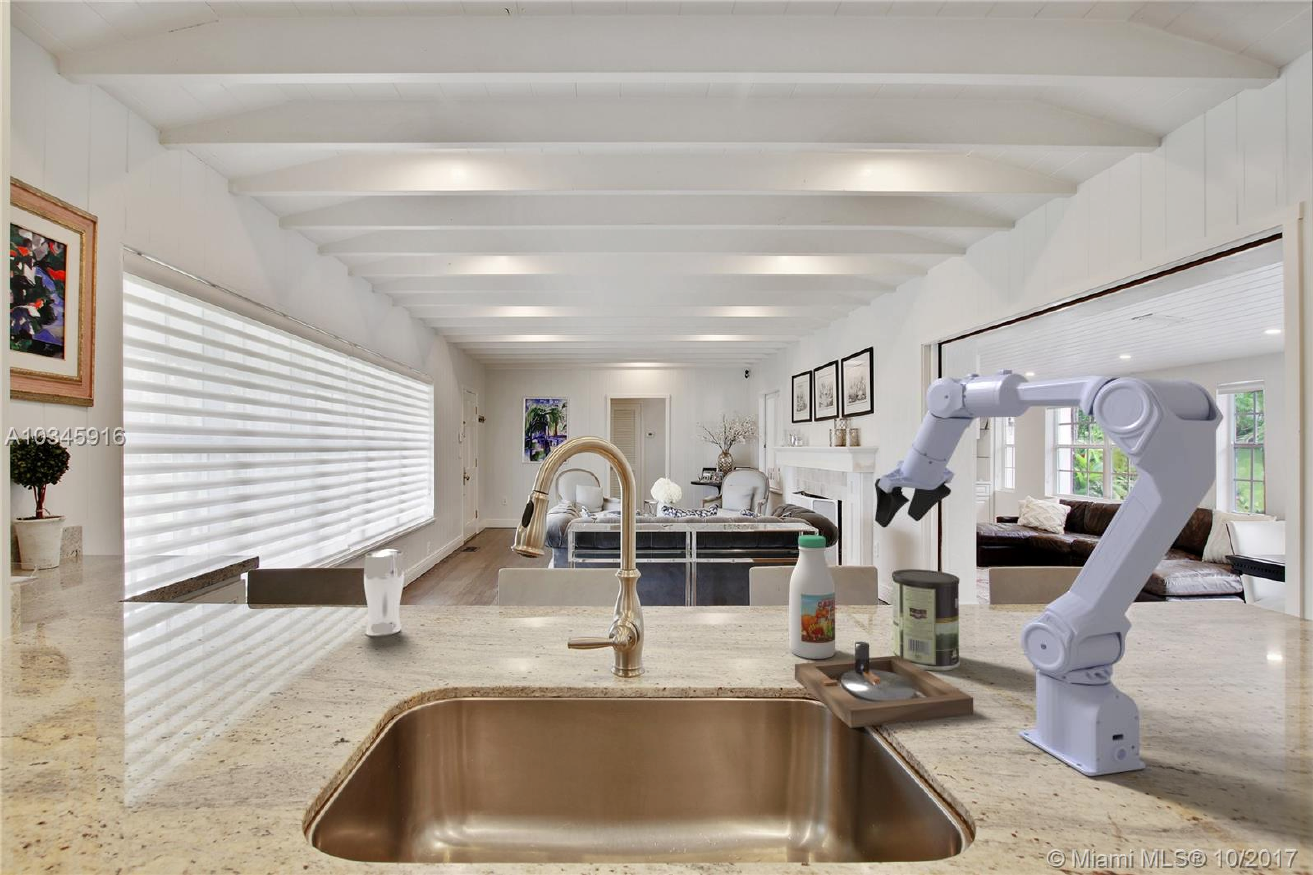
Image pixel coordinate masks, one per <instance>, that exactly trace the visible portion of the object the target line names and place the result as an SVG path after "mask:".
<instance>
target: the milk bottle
mask: <svg viewBox="0 0 1313 875" xmlns="http://www.w3.org/2000/svg"><path fill="white" fill-rule="evenodd" d="M797 539H798V540H797V543H798V549H799V555H798V558H797V563H796V564H795V567H794V569H793V571H792V573H791V577H790V581H789V592H788V593H789V596H788V598H789V599H788V601H789V602H788V606H789V607H788V645H789V646H788V648H789V651H790V652H791V653H792V654H794V655H795V656H798V657H801V658H804V659H811V660H812V659H813V660H825V659H829V658H832V657H833V656H834V655H835V653H836V591H835V590H836V588H835V582H834V578H833V575H832V572H831V570H830V568H829V566H828V563H827V561H826V560H827V559H826V556H825V551H826V544H827V541H826V540H827V539H826V538H825V537H824V536H823V535H816V534H815V535H812V534H804V535H799V536H798V538H797Z"/></svg>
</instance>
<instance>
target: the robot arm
mask: <svg viewBox="0 0 1313 875" xmlns="http://www.w3.org/2000/svg"><path fill="white" fill-rule="evenodd" d="M926 391H927V392H926V397H925V402H926V407H927V410H926V413H925V415H924V417H923V420H922V422H921V425H920V427H919V429H918V431H917V433H916V436H915V438H914V439H913V442H912V444H911V446H910V448H909V450H908V452H907V454H906V456H905V459H904V460H897V463H896V466H897V467H896V469H893V470H892V471H890V472H889V473H887V474H883V475H881V478H877V479H876V480H875V482H874V488H875V493H876V509H875V515H874V516H875V517H874V521H875V522H876V523H877V524H878V525H879V526H881V527H882V528H887V527H888V526H890V524H891V522H892V521H893V519H894V517H895V516H896V514H897V513H898V512H899V511H900V509H901V508H902V507H903V506H904V505H906V504H907V503H908V502H910V504H909V506H908V509H907V515H908V516H909V517H910V518H912V519H913V520H914V521H915V522H919V521H921V520H922V519H923V518H924V517H925V516H926V514H927V513H928V512H929V511H930V510H931V509H932V508H933V507H934V506H935V505H937V504H938V503H939V502H940V501H942V500H943V499H944V498H947V497H949V496H950V495H951V493H952V489H951V488H950V487H949V486H947V485H948V484H951V482H952V481H953V479H954V476H955V475H956V474H955V472H953V471H952V470H950V469H949V468H948V467H947V466H948V465H949V464H948V463H949V462H950V461H951V457H952V456H953V454H954V452H955V450H956V448H957V447H958V444H959V442H960V440H961V438H962V437H963V434H964V432H965V431H966V429H967V428H970V426H971V424H972V422H973V421H974V420H976V419H978V418H1018V417H1020V416H1022V415H1024V414H1025V413H1026V412H1027V411H1028V410H1029V408H1030V407H1080V409H1081V411H1082V413H1083V415H1085V416H1087V417H1093V418H1094V419H1095V422H1096V425H1097V426H1098V427H1099V428H1100V429H1101V431H1103V433H1104V434H1105V435H1106V436H1107V437H1108V438H1109V440H1110V441H1112V442H1113V444H1115V446H1116V447H1117V448H1118V449H1120V451H1121V452H1122V453H1123V454H1124V455H1125V456H1126V457H1127V458H1128V459H1129V460H1130V462H1131V464H1132V466H1133V468H1134V469H1135V471H1136V473H1137V479H1136V480H1135V482H1134V483H1133V485H1132V486H1131V488H1130V490H1129V492H1128V493H1127V495H1126V497H1125V499H1124V500H1123V502H1122V503H1121V505H1120V506H1119V508H1118V510H1117V511H1116V513H1115V514H1114V516H1113V517H1112V519H1111V521H1110V522H1109V524H1108V526H1107V527H1106V530H1105V531H1104V533H1103V534H1102V536H1101V537H1100V539H1099V540H1098V543H1097V544H1096V546H1095V547H1094V549H1093V551H1092V552H1091V554H1090V556H1089V557H1088V559H1087V561H1086V562H1085V564H1084V565H1083V567H1082V568H1081V570H1080V572H1079V574H1078V575H1077V576H1076V579H1075V580H1074V581H1073V583H1072V585H1071V587H1070V588H1069V590H1068V591H1067V592H1065V593H1064V594H1062V595H1061V596H1059V597H1058V598H1056V599H1054V600H1053V601H1051V602H1050V603H1049V604H1047V605H1046V606H1045V608H1044V609H1043V610H1042V612H1041V614H1040V615H1038V616H1037V617H1034V618H1032V619H1030V620H1028V621H1027V622H1026V623H1025V624H1024V625H1023V627H1022V628H1021V631H1020V632H1021V633H1020V644H1021V648H1022V651H1023V653H1024V655H1025V656H1026V658H1027V660H1028V661H1029V662H1030V664H1031V665H1032V670H1033V671H1035V710H1036V711H1035V712H1036V713H1035V726H1036V727H1035V728H1029V729H1022V730H1018V735H1019V736H1020V737H1021V738H1023V739H1024V740H1026V741H1028V742H1029V743H1031V744H1033V745H1035V746H1036V747H1038V748H1040V749H1042V750H1043V751H1045V752H1047V753H1048V754H1050V755H1051V756H1053V757H1054V758H1057V759H1058V760H1060V761H1062V762H1063V763H1065V764H1066V765H1069V766H1071V767H1072V768H1073V769H1075V770H1076V771H1078V772H1080V773H1082V774H1083V775H1086V776H1089V777H1092V776H1093V777H1094V776H1101V775H1108V774H1113V773H1114V774H1116V773H1120V772H1127V771H1128V772H1129V771H1134V770H1142V769H1145V768H1146V763H1145V762H1143V761H1141V760H1140V758H1141V756H1140V754H1141V752H1140V747H1141V746H1140V713H1139V709H1138V706H1137V704H1136V702H1135V701H1134V699H1133V698H1132V697H1130V695H1127V693H1125V692H1123V691H1122V690H1120V689H1118V688H1117V687H1116V686H1115V684H1114V683H1113V682H1112V680H1111V676H1113V673H1114V672H1113V671H1114V670H1113V666H1114V665H1116V664H1118V662H1120V661H1121V660H1122V658H1123V657H1124V655H1125V651H1126V637H1127V634H1128V633H1129V631H1130V630H1131V628H1132V626H1133V625H1132V622H1131V621H1130V620H1129V618H1128V617H1127V616H1126V613H1127V612H1128V611H1129V608H1131V606H1132V605H1133V603H1134V601H1135V600H1136V598H1137V597H1138V595H1139V594H1140V592H1141V591H1142V589H1143V588H1144V586H1145V585H1146V584H1147V582H1148V581H1149V579H1150V577H1152V575H1153V573H1155V570H1156V569H1157V567H1158V566H1159V564H1160V563H1161V561H1162V560H1163V558H1164V557H1165V556H1166V555H1167V553H1168V551H1169V550H1170V548H1171V547H1172V545H1173V544H1174V542H1175V541H1176V539H1177V538H1178V537H1179V535H1180V534H1181V533H1182V531H1183V529H1184V528H1185V526H1186V525H1187V523H1188V522H1189V521H1190V519H1191V518H1192V516H1193V514H1194V513H1195V511H1196V510H1197V509H1198V507H1199V506H1200V504H1201V503H1202V501H1203V500H1204V498H1205V497H1206V495H1207V494H1208V492H1209V490H1210V489H1212V487H1213V485H1214V483H1215V480H1216V473H1217V472H1216V471H1217V470H1216V467H1217V466H1216V465H1217V464H1216V462H1217V461H1216V460H1217V459H1216V452H1217V450H1216V449H1217V448H1216V445H1217V444H1216V440H1217V439H1216V438H1217V436H1216V434H1217V430H1218V428H1219V426H1220V425H1221V423H1222V421H1223V419H1224V415H1223V413H1222V412H1221V410H1220V408H1219V406H1218V405H1217V403H1216V402H1215V400H1214V398H1213V397H1212V395H1211V394H1210V393H1209V391H1208V390H1207V389H1206V388H1205V387H1204V386H1202V385H1200V384H1198V383H1196V382H1193V381H1189V380H1161V379H1152V378H1151V379H1150V378H1141V377H1140V378H1138V377H1130V376H1129V377H1128V376H1127V377H1126V376H1112V375H1098V374H1096V375H1095V374H1090V375H1081V376H1073V377H1072V376H1071V377H1065V378H1063V377H1062V378H1054V379H1046V380H1034V381H1029V380H1028V379H1027V378H1026V377H1025V376H1024V375H1022V374H1019V373H1016V372H1015V373H1013V370H1012V369H998V370H996V371H995V374H991V375H984V376H983V375H982V376H981V375H979V374H978V373H969V374H966V377H965V378H956V377H955V378H953V377H950V376H943V377H941V378H937V379H936V380H934V381H933V382H931V384H930V385H929V386H928V389H927V390H926ZM903 488H909V489H914V491H913V492H914V493H913V496H912V498H911V501H910V498H908V497H906V496H905V495H904V494H903V491H902V490H903Z"/></svg>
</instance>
